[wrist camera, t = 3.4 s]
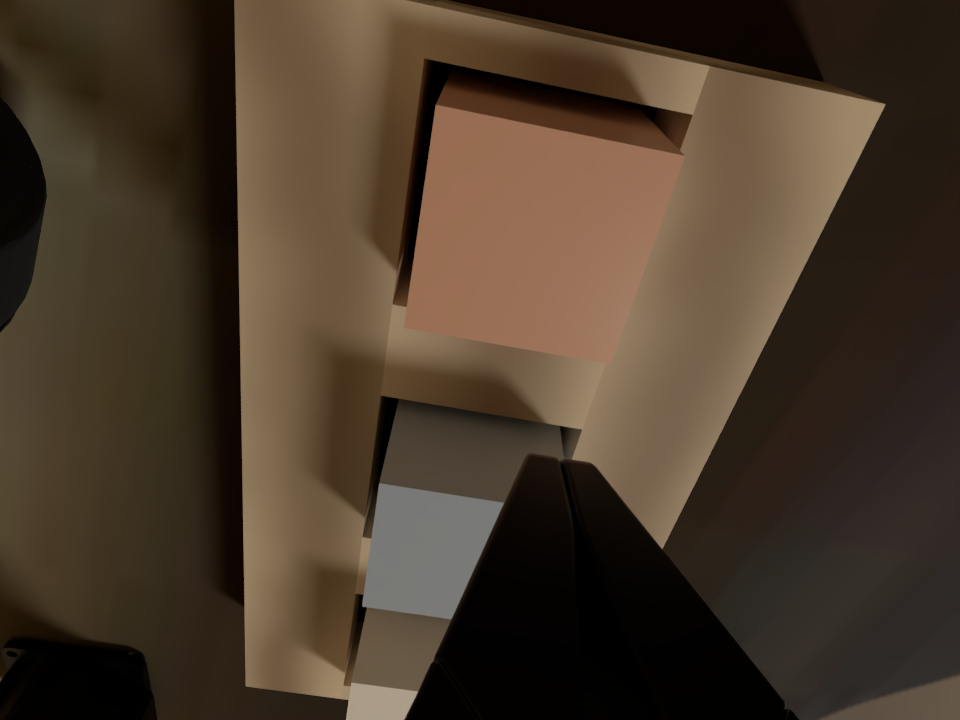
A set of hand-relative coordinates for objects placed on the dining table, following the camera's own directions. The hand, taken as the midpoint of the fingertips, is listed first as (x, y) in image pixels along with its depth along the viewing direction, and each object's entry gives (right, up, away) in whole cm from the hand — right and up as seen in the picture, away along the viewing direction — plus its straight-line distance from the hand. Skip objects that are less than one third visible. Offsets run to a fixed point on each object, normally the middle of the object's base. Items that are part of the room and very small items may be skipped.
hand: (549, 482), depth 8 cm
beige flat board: (-1, -1, +15) cm, 15 cm away
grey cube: (-1, -1, +15) cm, 15 cm away
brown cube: (0, +7, +10) cm, 12 cm away
